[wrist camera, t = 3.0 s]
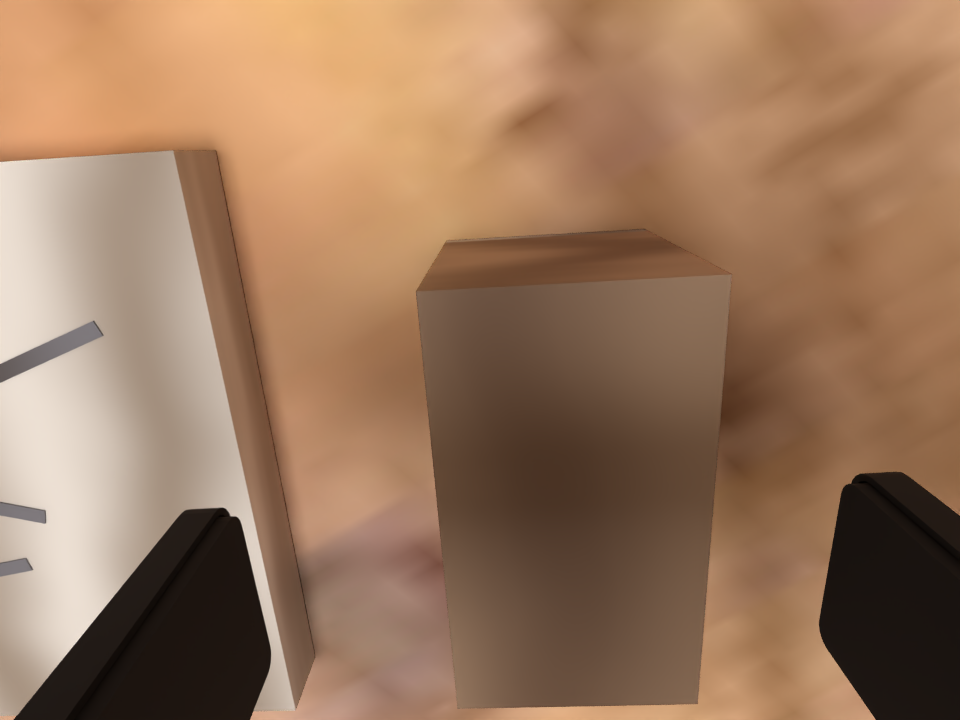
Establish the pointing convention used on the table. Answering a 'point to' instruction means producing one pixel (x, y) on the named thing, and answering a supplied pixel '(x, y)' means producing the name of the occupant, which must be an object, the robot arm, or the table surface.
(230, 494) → the board
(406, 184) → the table surface
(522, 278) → the block
